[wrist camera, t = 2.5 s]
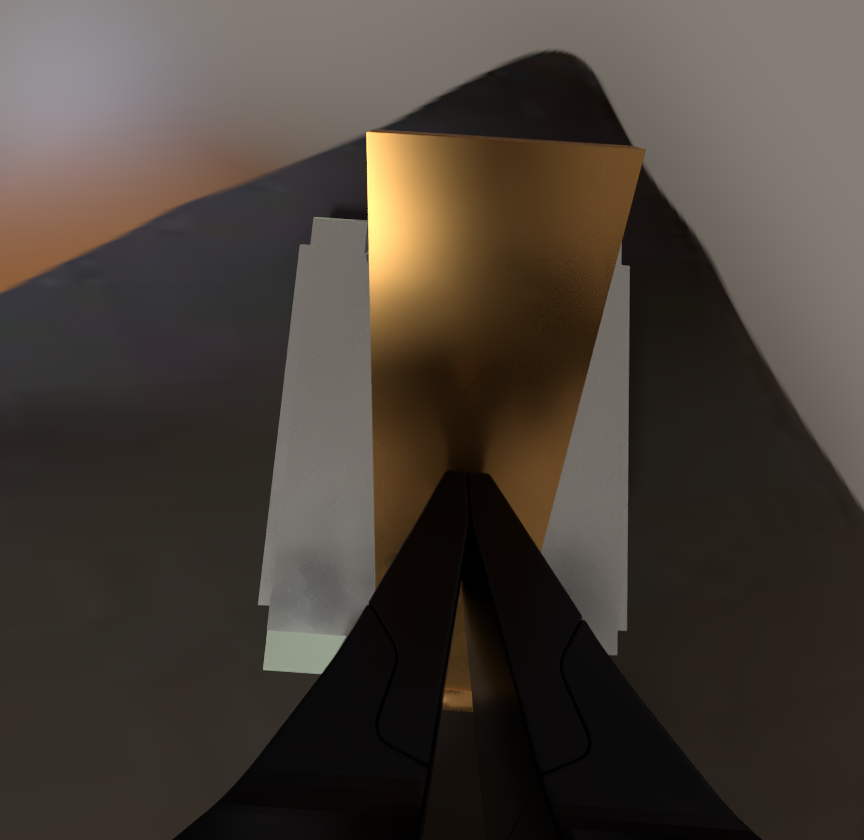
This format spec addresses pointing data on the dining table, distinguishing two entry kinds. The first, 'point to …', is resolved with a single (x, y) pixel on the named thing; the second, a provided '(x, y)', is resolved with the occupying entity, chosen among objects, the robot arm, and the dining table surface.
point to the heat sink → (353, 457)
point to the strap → (483, 319)
